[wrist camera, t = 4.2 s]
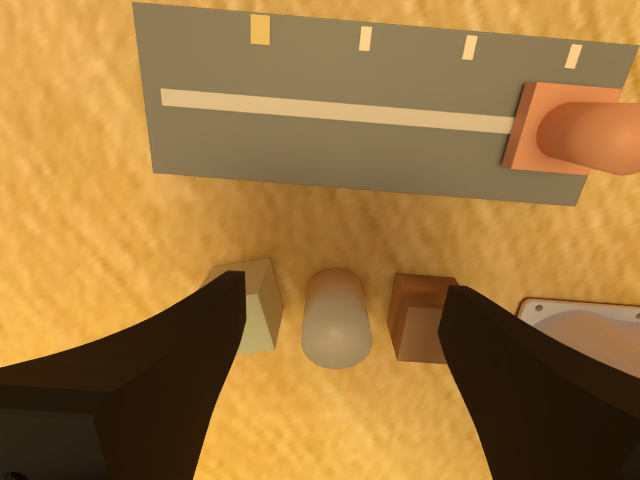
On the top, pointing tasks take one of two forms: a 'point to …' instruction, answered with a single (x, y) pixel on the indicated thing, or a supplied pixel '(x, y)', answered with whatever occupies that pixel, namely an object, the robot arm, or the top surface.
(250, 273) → the sage block
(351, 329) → the grey cylinder
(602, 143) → the counter slider
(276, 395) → the top surface
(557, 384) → the robot arm
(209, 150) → the slate board
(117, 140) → the top surface
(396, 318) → the walnut block
